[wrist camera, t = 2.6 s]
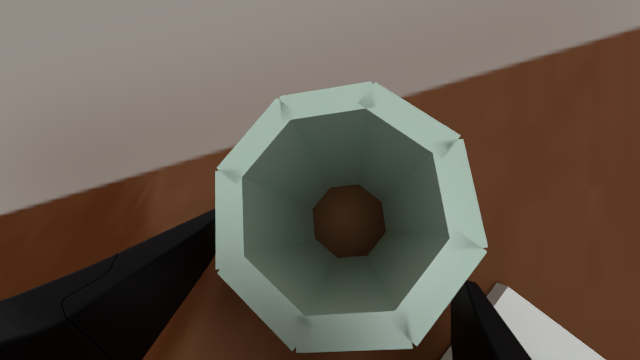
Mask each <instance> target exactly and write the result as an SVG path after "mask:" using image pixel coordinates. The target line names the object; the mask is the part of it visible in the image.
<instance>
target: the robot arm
mask: <svg viewBox="0 0 640 360" xmlns="http://www.w3.org/2000/svg"><path fill="white" fill-rule="evenodd" d="M215 254H216V217H215V209H213V210H211V211H209V212H206V213H204V214H202V215H200V216H198V217H196V218H193V219H191V220H189V221H187V222H185V223H183V224H180V225H178V226H176V227H174V228H172V229H169V230H167V231H165V232H163V233H161V234H159V235H156V236H154V237H152V238H150V239H148V240H146V241H143V242H141V243H139V244H137V245H135V246H132V247H130V248H128V249H126V250H124V251H122V252H120V253H117V254H115V255H113V256H111V257H108V258H106V259H104V260H102V261H99V262H97V263H95V264H93V265H90V266H88V267H86V268H83V269H81V270H78V271H76V272H74V273H71V274H69V275H66V276H64V277H61V278H59V279H56V280H53V281H51V282H48V283H46V284H43V285H41V286H38V287H36V288H33V289H31V290H28V291H26V292H23V293H20V294H18V295H15V296H13V297H10V298H7V299H4V300H0V360H142V359H143V358H144V356H145V355H146V353H147V352H148V350H149V349H150V348H151V346H152V345H153V343H154V342H155V341H156V339H157V338H158V336H159V335H160V333H161V332H162V331H163V329H164V328H165V326H166V325H167V324H168V322H169V321H170V319H171V318H172V316H173V315H174V314H175V312H176V311H177V309H178V308H179V306H180V305H181V304H182V302H183V301H184V299H185V298H186V297H187V295H188V294H189V292H190V291H191V289H192V288H193V287H194V285H195V284H196V282H197V281H198V280H199V278H200V277H201V275H202V274H203V272H204V271H205V270H206V268H207V267H208V265H209V264H210V262H211V261H212V259H213V257H214V256H215ZM451 349H452V359H453V360H532V359H531V357H530V356H529V355H528V353H527V352H526V351H525V349H524V348H523V346H522V345H521V344H520V342H519V341H518V340H517V338H516V337H515V335H514V334H513V333H512V331H511V330H510V329H509V327H508V326H507V324H506V323H505V322H504V320H503V319H502V317H501V316H500V315H499V313H498V312H497V311H496V309H495V308H494V306H493V305H492V304H491V302H490V301H489V300H488V298H487V297H486V295H485V294H484V293H483V291H482V290H481V289H480V287H479V286H478V285H477V284H476V283H475V282H472V281H468V280H466V281H465V282H464V284H463V285H462V287H461V288H460V289H459V291H458V292H457V293H456V295H455V296H454V297H453V299H452V300H451Z"/></svg>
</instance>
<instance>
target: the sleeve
mask: <svg viewBox="0 0 640 360" xmlns="http://www.w3.org/2000/svg"><path fill="white" fill-rule="evenodd" d="M460 136H461V135H459V134H457V133H456V132H454V131H453V130H451V129H449V128H448V127H446V126H445V125H443V124H441V123H440V122H438V121H437V120H435V119H434V118H432V117H430V116H429V115H427V114H426V113H424V112H422V111H421V110H419V109H418V108H416V107H414V106H413V105H411V104H410V103H408V102H406V101H405V100H403V99H402V98H400V97H398V96H397V95H395V94H394V93H392V92H391V91H389V90H387V89H386V88H384V87H382V86H381V85H379V84H378V83H376V82H375V83H374V84H373V85H372V82H371V81H370V82H364V83H358V84H353V85H346V86H340V87H334V88H327V89H321V90H315V91H309V92H303V93H297V94H291V95H285V96H280V100H279V99H277V98H276V99H275V100H274V102H273V103H272V104H271V105H270V106H269V108H268V109H267V110H266V111H265V112H264V113H263V115H262V116H261V117H260V118H259V119H258V120H257V121H256V123H255V124H254V125H253V126H252V127H251V129H250V130H249V131H248V132H247V133H246V134H245V136H244V137H243V138H242V139H241V140H240V141H239V142H238V144H237V145H236V146H235V147H234V148H233V149H232V151H231V152H230V153H229V154H228V155H227V156H226V158H225V159H224V160H223V161H222V162H221V163H220V165H219V166H218V167H217V169H219V170H220V171H215V217H216V269H220V270H219V271H218V273H217V274H218V275H219V276H220V277H221V278H222V279H223V280H224V281H225V282H226V283H227V284H228V285H229V286H230V287H231V288H232V289H233V290H234V291H235V292H236V293H237V294H238V295H239V297H240V298H241V299H242V300H243V301H244V302H245V303H246V304H247V305H248V306H249V307H250V308H251V309H252V310H253V311H254V312H255V313H256V314H257V315H258V316H259V317H260V318H261V319H262V320H263V322H264V323H265V324H266V325H267V326H268V327H269V328H270V329H271V330H272V331H273V332H274V333H275V334H276V335H277V336H278V337H279V338H280V339H281V340H282V341H283V342H284V343H285V344H286V345H287V346H288V348H289V349H290V350H291V351H293V350H294V348H295V347H296V353H311V352H338V351H365V350H392V349H413V347H412V342H413V343H414V344H415V345H416V346H418V345H419V343H420V342H421V341H422V339H423V338H424V336H425V335H426V334H427V332H428V331H429V330H430V328H431V327H432V326H433V324H434V323H435V322H436V320H437V319H438V318H439V316H440V315H441V314H442V312H443V311H444V309H445V308H446V307H447V305H448V304H449V303H450V301H451V300H452V299H453V297H454V296H455V295H456V293H457V292H458V291H459V289H460V288H461V287H462V285H463V284H464V282H465V281H466V280H467V278H468V277H469V276H470V274H471V273H472V272H473V270H474V269H475V268H476V266H477V265H478V264H479V262H480V261H481V260H482V258H483V257H484V255H485V254H486V253H487V251H485V250H484V249H483V248H485V247H488V245H487V241H486V236H485V232H484V228H483V223H482V219H481V214H480V210H479V206H478V201H477V197H476V193H475V188H474V184H473V180H472V175H471V171H470V167H469V162H468V158H467V154H466V149H465V145H464V141H463V139H458V138H459V137H460ZM457 139H458V140H457ZM349 185H360V186H361V187H362V188H364V189H365V190H366V191H368V192H369V193H370V194H371V195H373V196H374V197H375V198H377V199H378V200H379V201H381V202H382V209H383V215H384V222H385V229H386V232H385V234H384V235H383V236H382V237H381V239H380V240H379V241H378V243H377V244H376V245H375V246H374V248H373V249H372V250H371V252H370V253H369V254H368V255H367V256H355V257H343V258H337V257H336V256H335V255H334V254H332V253H331V252H330V251H329V250H328V249H327V248H326V247H324V246H323V245H322V244H321V243H320V242H319V241H318V240H316V239H315V232H314V221H313V208H314V207H315V206H316V205H317V203H318V202H319V201H320V200H321V198H322V197H323V196H324V195H325V194H326V192H327V191H328V190H329V189H330V188H332V187H341V186H349Z"/></svg>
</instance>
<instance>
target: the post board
mask: <svg viewBox="0 0 640 360" xmlns="http://www.w3.org/2000/svg"><path fill="white" fill-rule="evenodd" d="M487 298H488V300H489V301H490V302H491V304H492V305H493V306H494V308H495V309H496V311H497V312H498V313H499V315H500V316H501V317H502V319H503V320H504V322H505V323H506V324H507V326H508V327H509V329H510V330H511V331H512V333H513V334H514V335H515V337H516V338H517V340H518V341H519V342H520V344H521V345H522V346H523V348H524V349H525V351H526V352H527V353H528V355H529V356H530V357H531V359H532V360H605V359H604V358H603V357H601V356H600V355H599V354H597V353H596V352H595V351H593V350H592V349H591V348H589V347H588V346H587V345H585V344H584V343H583V342H581V341H580V340H579V339H577V338H576V337H575V336H573V335H572V334H571V333H569V332H568V331H567V330H565V329H564V328H563V327H561V326H560V325H559V324H557V323H556V322H555V321H553V320H552V319H551V318H549V317H548V316H547V315H545V314H544V313H543V312H541V311H540V310H539V309H537V308H536V307H535V306H533V305H532V304H531V303H529V302H528V301H527V300H525V299H524V298H523V297H521V296H520V295H519V294H517V293H516V292H515V291H513V290H512V289H511V288H509V287H508V286H505V285H502V284H500V283H496V284H495V286H494V287H493V288H492V290H491V291H490V292H489V294H488V295H487ZM441 360H453V359H452V349H451V346H450V347H449V349H448V350H447V351H446V353H445V354H444V356H443V357H442V358H441Z"/></svg>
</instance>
